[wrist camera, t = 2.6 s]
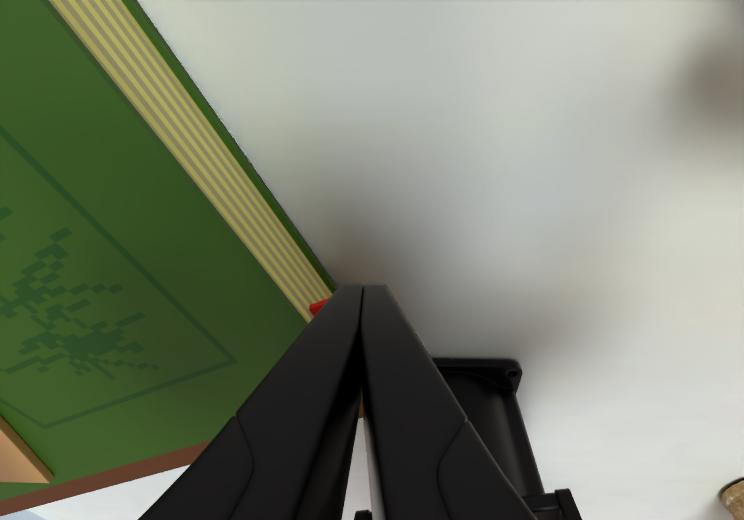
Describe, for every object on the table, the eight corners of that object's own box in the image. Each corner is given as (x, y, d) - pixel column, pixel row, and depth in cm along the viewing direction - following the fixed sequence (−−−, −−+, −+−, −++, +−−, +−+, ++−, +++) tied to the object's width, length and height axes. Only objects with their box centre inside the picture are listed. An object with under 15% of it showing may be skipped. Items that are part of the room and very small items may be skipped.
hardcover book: (42, 453, 27) (-1, 516, 24) (-339, 232, 17) (-492, 290, 14) (391, 340, 20) (392, 409, 17) (74, -135, 10) (-54, -174, 7)
